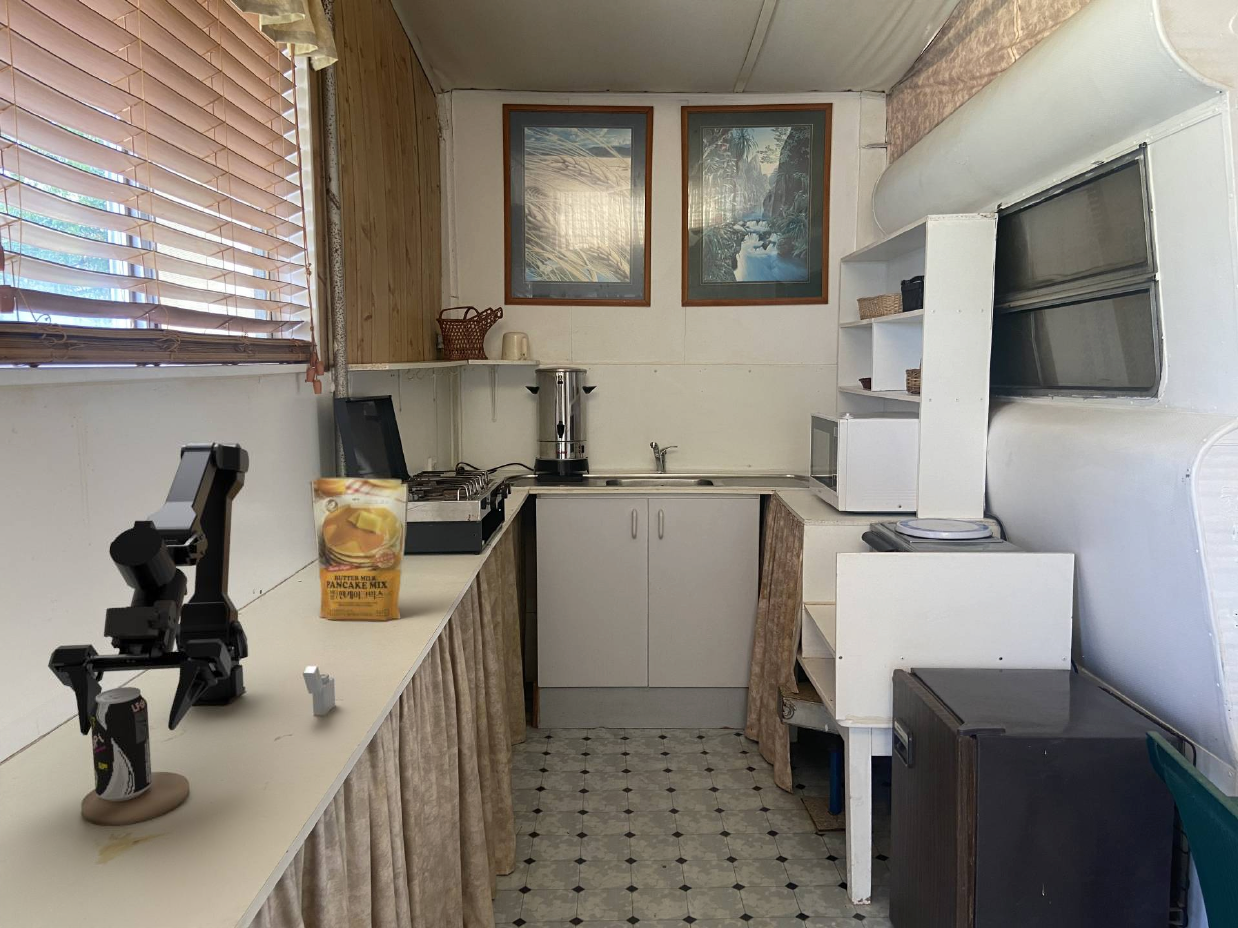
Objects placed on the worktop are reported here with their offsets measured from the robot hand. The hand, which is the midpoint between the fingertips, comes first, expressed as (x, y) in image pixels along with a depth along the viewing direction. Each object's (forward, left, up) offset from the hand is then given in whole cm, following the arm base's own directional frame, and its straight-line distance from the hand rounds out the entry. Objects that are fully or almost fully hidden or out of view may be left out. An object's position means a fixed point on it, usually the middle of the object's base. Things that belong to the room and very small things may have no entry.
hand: (127, 731), depth 102 cm
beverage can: (-2, +1, -8) cm, 8 cm away
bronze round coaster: (0, +1, -9) cm, 9 cm away
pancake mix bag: (+3, +78, -9) cm, 78 cm away
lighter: (+12, +28, -9) cm, 32 cm away
